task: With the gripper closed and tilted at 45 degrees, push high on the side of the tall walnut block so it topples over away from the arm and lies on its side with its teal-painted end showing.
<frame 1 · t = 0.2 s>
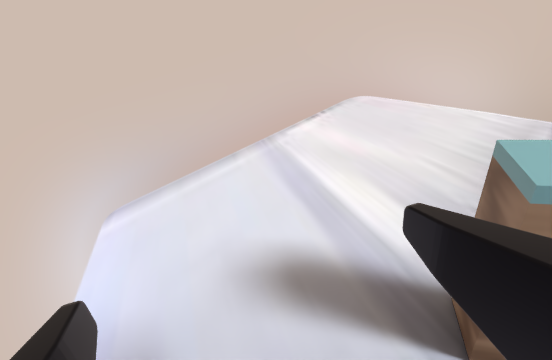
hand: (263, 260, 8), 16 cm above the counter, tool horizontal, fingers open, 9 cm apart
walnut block: (497, 331, 23), on the counter
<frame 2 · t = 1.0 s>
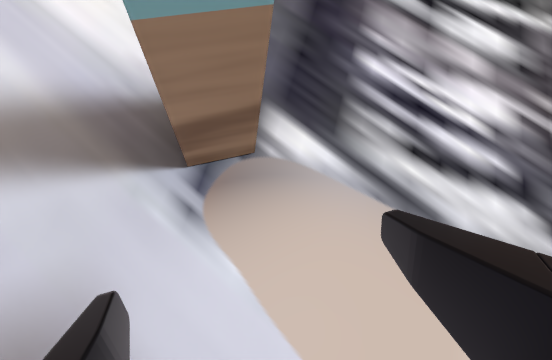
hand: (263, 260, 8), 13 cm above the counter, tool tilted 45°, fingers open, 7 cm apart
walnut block: (214, 130, 24), on the counter
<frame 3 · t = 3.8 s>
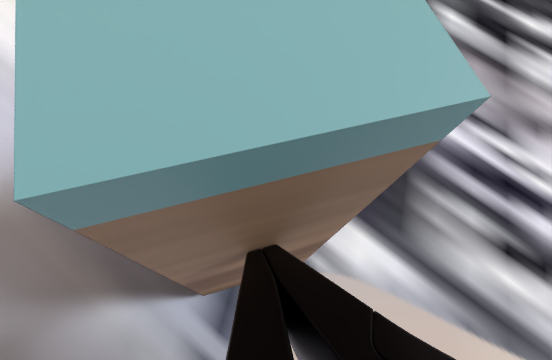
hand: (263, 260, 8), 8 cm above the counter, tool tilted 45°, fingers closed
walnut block: (239, 234, 17), on the counter
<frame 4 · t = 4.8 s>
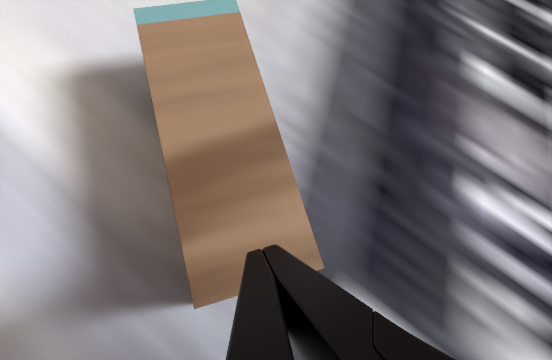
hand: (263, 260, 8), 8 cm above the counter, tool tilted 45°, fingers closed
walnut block: (257, 287, 14), point 2 cm above the counter, tilted 90°
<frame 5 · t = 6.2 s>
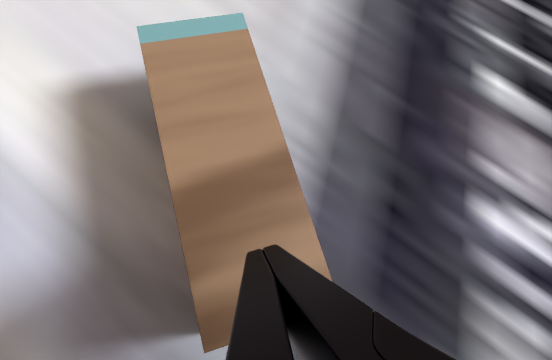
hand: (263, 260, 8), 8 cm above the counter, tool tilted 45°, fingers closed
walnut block: (268, 320, 13), point 2 cm above the counter, tilted 90°
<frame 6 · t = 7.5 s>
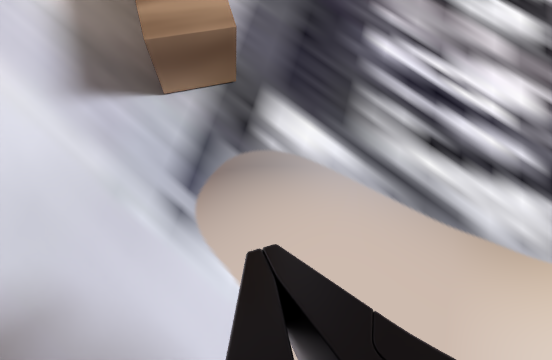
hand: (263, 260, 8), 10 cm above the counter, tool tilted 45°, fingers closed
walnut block: (196, 63, 19), point 2 cm above the counter, tilted 90°
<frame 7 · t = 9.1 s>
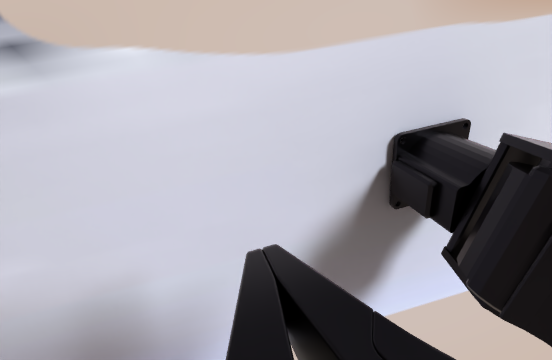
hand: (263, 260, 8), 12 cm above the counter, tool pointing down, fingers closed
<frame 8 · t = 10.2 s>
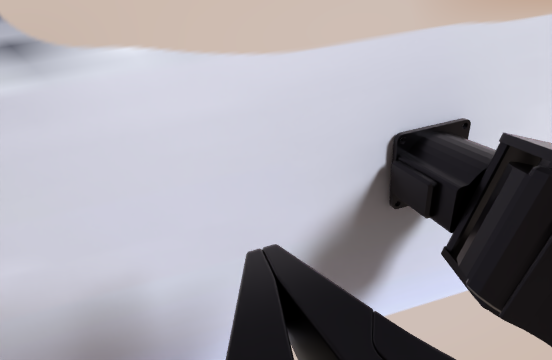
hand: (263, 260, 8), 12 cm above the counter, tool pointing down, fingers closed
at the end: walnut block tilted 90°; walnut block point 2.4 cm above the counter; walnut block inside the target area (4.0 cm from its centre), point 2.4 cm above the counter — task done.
